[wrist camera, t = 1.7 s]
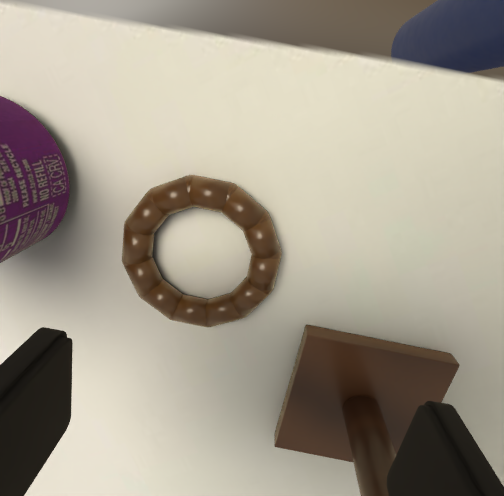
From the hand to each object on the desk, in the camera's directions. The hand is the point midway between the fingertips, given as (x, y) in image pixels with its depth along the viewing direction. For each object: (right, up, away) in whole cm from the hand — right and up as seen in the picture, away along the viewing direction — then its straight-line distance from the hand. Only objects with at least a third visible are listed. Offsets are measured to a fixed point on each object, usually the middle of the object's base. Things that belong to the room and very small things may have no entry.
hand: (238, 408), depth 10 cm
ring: (-2, +4, +8) cm, 9 cm away
